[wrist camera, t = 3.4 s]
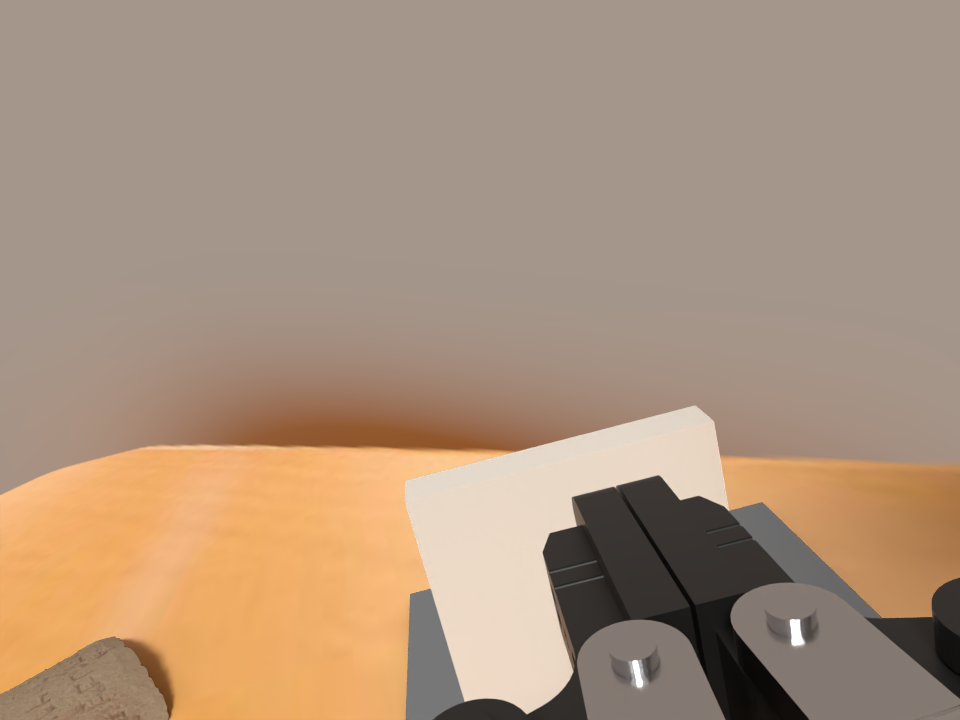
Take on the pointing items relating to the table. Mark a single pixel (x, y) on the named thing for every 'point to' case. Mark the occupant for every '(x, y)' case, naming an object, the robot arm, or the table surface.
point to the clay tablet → (88, 688)
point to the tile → (535, 541)
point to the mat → (433, 665)
